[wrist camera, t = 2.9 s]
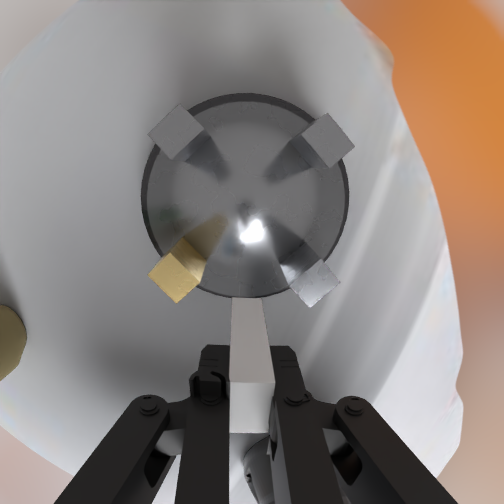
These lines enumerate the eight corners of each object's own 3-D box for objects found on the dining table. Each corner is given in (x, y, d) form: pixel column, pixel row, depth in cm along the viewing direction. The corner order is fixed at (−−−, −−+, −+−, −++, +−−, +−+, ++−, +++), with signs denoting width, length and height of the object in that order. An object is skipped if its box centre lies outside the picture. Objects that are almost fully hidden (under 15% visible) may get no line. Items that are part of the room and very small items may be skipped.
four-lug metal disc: (368, 207, 22) (406, 221, 16) (240, 318, 24) (240, 361, 18) (253, 72, 19) (258, 41, 13) (120, 196, 21) (84, 206, 15)
